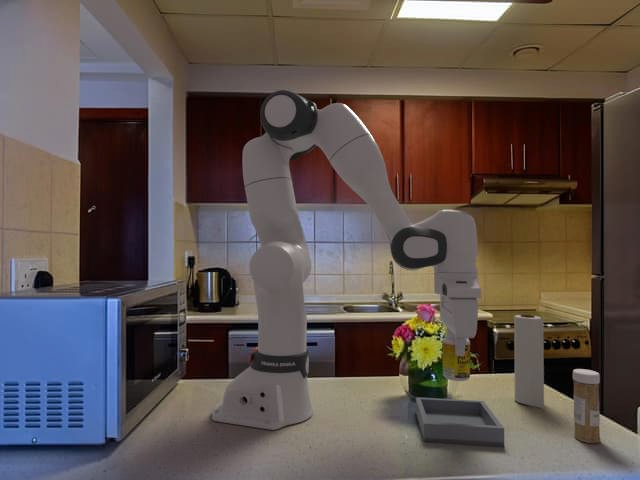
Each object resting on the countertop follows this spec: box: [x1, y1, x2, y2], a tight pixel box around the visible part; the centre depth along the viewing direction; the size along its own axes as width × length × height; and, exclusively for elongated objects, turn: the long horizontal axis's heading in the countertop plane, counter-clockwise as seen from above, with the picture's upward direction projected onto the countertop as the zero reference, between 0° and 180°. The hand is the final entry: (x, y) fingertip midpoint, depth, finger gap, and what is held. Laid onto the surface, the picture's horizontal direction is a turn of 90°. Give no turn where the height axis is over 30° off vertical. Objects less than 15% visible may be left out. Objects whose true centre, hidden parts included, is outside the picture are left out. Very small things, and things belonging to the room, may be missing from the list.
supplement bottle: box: [442, 328, 471, 382], centre depth 88 cm, size 6×6×10 cm
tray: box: [415, 396, 505, 448], centre depth 88 cm, size 15×15×4 cm
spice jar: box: [572, 368, 601, 444], centre depth 83 cm, size 5×5×13 cm
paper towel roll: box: [513, 314, 545, 409], centre depth 104 cm, size 7×6×21 cm
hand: (456, 351), depth 88 cm, fingers closed on supplement bottle, 6 cm apart
